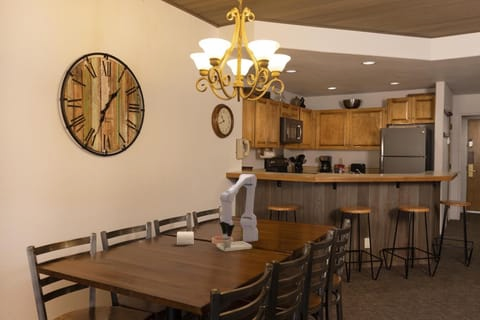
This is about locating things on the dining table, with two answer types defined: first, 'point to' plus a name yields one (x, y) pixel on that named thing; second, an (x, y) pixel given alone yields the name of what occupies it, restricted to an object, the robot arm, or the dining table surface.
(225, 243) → the pebble
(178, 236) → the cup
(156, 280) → the dining table surface
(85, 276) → the dining table surface
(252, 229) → the robot arm
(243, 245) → the tray
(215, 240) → the bowl
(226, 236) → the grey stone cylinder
